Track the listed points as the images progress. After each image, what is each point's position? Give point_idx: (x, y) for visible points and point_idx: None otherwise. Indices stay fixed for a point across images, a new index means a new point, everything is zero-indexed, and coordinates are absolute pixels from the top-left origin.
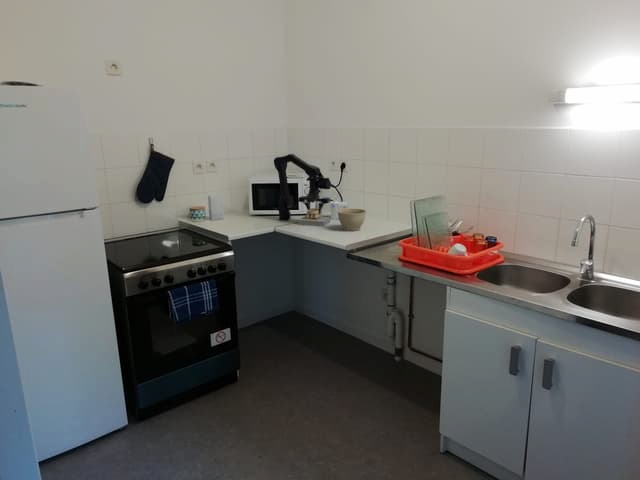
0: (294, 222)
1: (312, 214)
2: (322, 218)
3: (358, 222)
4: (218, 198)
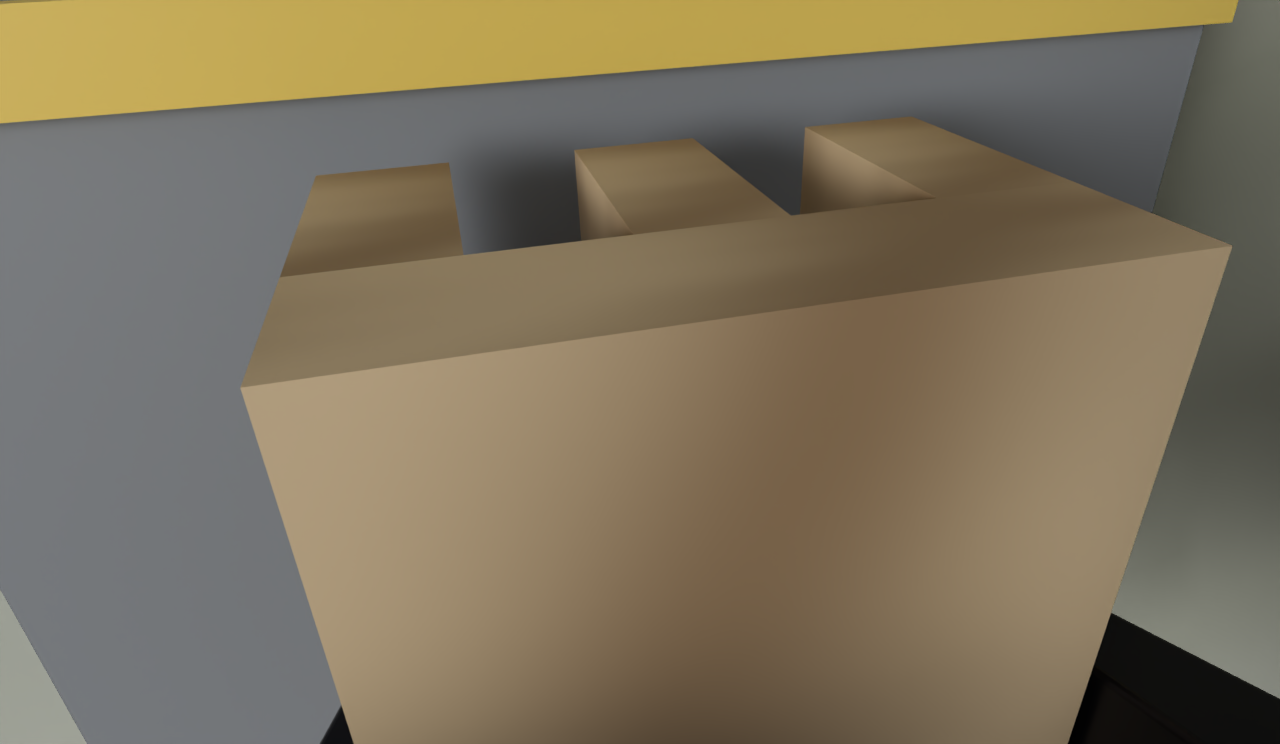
0: (1214, 229)
1: (620, 217)
2: (314, 628)
3: None
4: None
